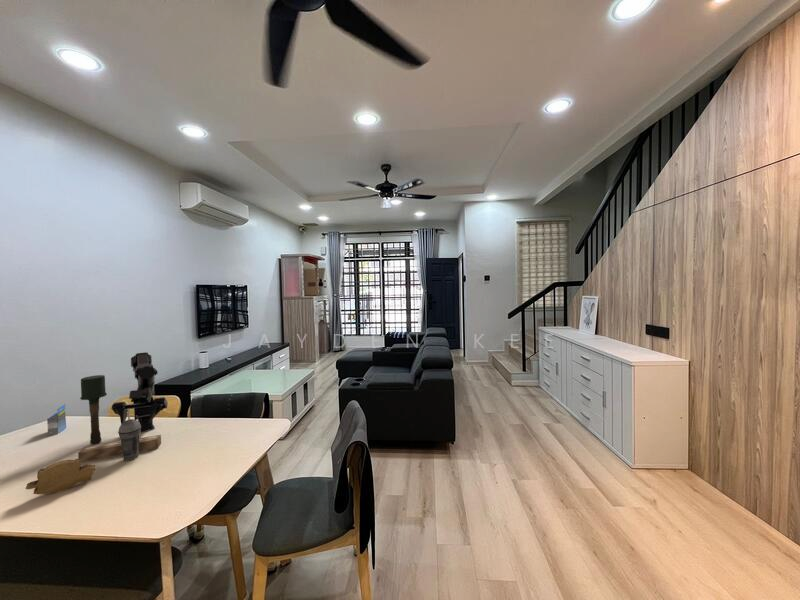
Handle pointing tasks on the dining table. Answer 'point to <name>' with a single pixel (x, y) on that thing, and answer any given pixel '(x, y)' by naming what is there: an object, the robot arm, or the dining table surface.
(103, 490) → the dining table surface
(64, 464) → the wooden carving
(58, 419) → the label tape cartridge
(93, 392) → the stick grenade
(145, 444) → the slotted wooden bar
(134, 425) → the beverage cup
